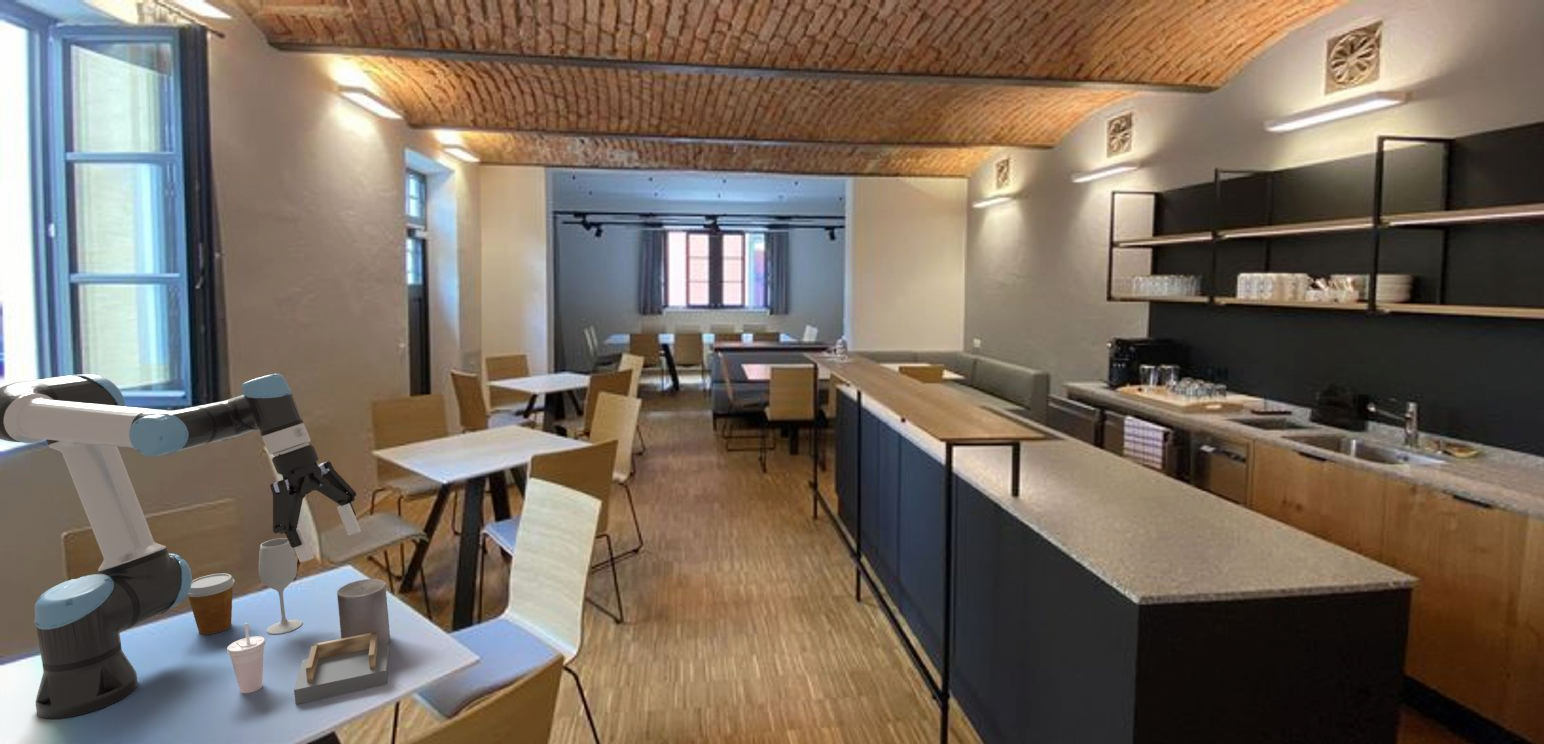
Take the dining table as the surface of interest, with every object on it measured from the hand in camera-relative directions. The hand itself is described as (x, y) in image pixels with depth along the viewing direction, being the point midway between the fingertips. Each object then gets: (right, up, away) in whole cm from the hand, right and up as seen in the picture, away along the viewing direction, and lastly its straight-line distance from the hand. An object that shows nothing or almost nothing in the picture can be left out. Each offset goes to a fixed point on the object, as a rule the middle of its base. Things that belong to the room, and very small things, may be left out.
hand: (332, 546), depth 155 cm
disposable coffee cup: (-43, -26, +26) cm, 56 cm away
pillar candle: (-2, -26, +16) cm, 31 cm away
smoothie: (-16, -29, -1) cm, 33 cm away
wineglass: (-26, -25, +26) cm, 45 cm away
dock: (+1, -28, +2) cm, 28 cm away
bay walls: (+1, -25, +2) cm, 25 cm away
